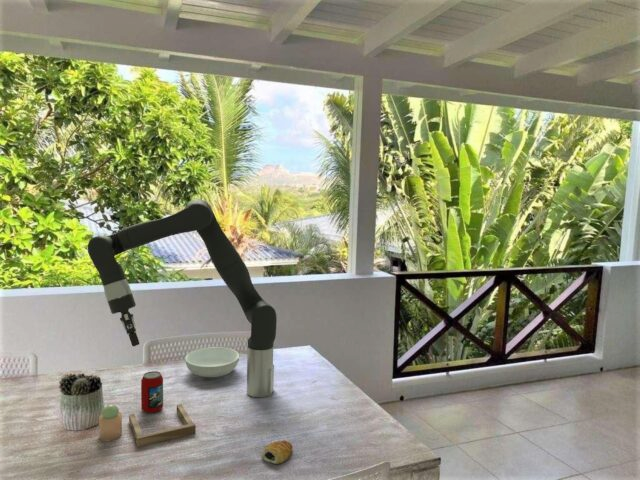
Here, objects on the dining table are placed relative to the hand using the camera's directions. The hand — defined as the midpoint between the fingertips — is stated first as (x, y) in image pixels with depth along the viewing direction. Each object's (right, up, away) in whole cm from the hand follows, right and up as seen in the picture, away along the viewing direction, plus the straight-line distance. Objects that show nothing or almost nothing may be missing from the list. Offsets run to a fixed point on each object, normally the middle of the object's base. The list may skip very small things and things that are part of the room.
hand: (135, 344), depth 149 cm
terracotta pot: (-3, -24, -12) cm, 27 cm away
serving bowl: (+16, -20, +37) cm, 45 cm away
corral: (+10, -24, -6) cm, 27 cm away
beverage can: (+4, -23, +5) cm, 23 cm away
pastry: (+47, -27, -19) cm, 57 cm away
